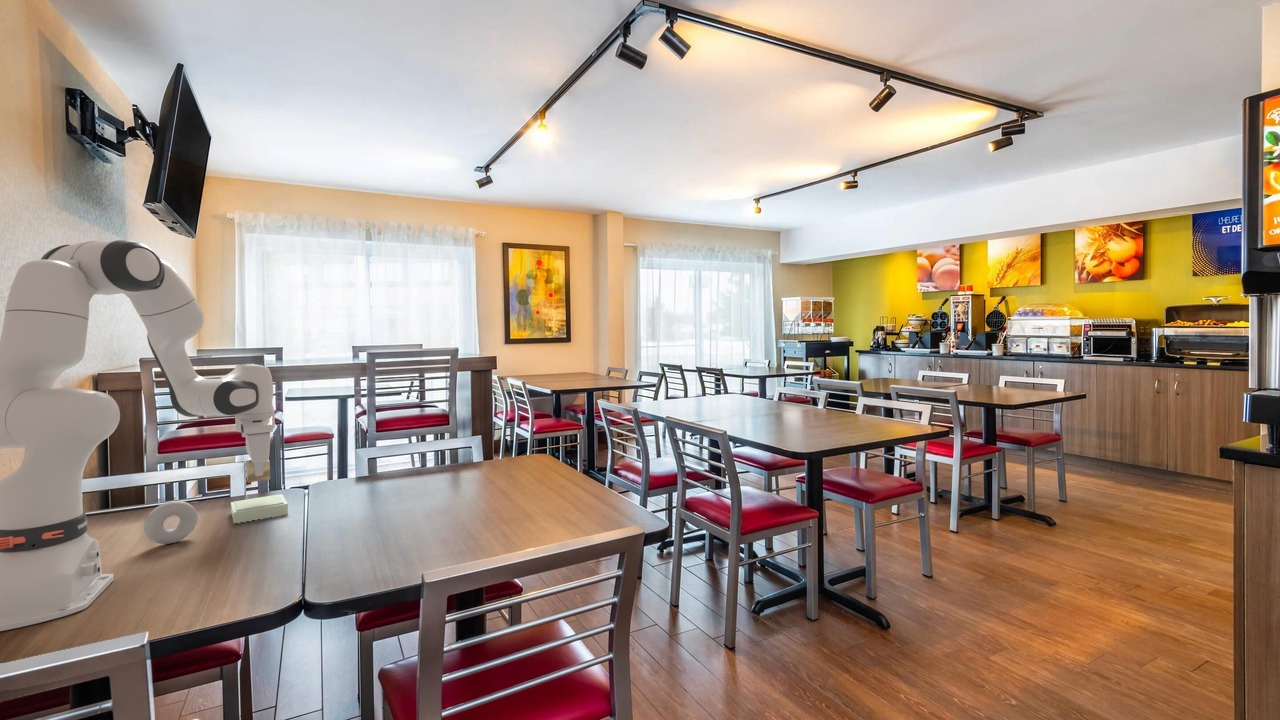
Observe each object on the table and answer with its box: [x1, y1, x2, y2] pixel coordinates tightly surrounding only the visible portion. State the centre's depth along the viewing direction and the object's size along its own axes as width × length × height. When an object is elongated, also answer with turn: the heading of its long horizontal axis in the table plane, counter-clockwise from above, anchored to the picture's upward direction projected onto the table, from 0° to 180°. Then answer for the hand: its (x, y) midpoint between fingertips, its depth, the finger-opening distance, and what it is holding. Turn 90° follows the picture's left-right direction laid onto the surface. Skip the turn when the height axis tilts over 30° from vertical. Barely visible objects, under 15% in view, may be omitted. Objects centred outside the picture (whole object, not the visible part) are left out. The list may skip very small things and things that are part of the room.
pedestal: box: [230, 493, 289, 524], centre depth 153 cm, size 12×12×3 cm
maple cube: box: [245, 458, 271, 483], centre depth 153 cm, size 5×5×5 cm
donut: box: [143, 500, 199, 545], centre depth 132 cm, size 10×4×10 cm, turn 147°
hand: (257, 473), depth 153 cm, fingers closed on maple cube, 5 cm apart
